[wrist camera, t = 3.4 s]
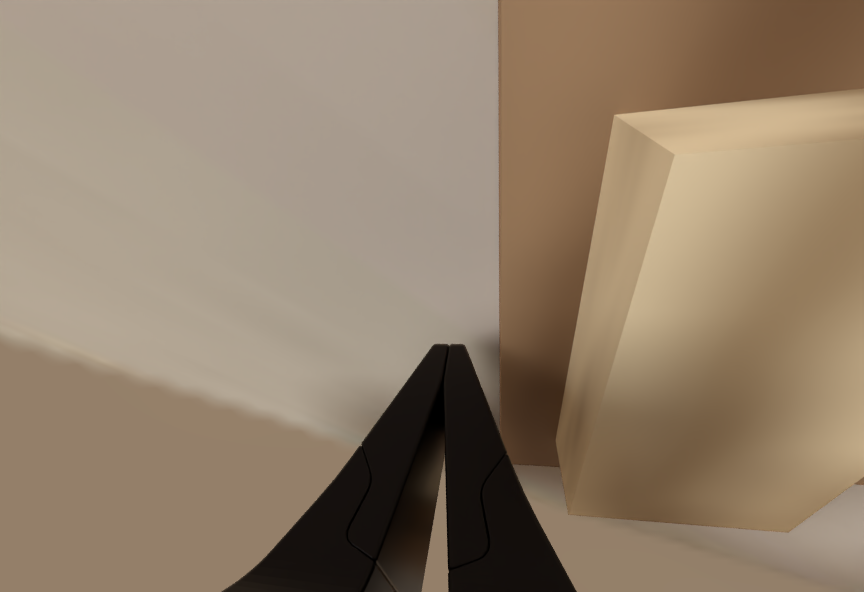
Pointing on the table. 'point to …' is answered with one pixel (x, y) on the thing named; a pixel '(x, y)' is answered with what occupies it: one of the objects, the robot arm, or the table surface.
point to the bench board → (589, 140)
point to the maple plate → (722, 317)
